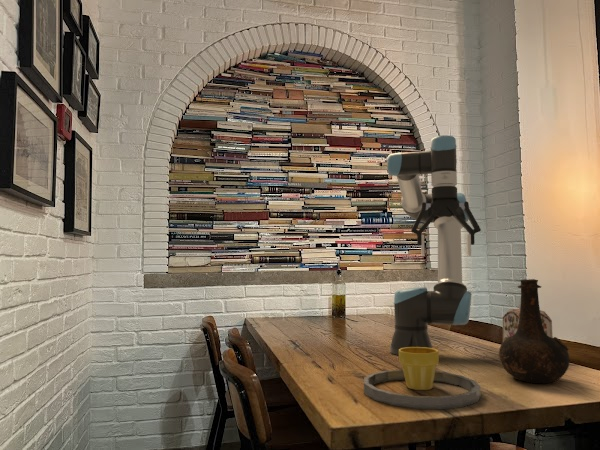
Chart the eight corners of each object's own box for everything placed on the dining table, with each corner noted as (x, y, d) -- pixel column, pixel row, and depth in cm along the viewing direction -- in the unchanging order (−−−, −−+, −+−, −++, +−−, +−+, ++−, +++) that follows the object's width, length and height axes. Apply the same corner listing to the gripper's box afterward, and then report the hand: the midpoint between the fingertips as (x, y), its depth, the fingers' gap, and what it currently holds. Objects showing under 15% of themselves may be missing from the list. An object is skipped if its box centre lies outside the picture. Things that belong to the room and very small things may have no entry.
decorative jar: (554, 359, 165) (552, 305, 167) (522, 361, 164) (520, 306, 165) (532, 353, 177) (530, 302, 178) (502, 354, 175) (500, 303, 176)
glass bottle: (569, 391, 126) (565, 281, 128) (495, 383, 135) (492, 279, 137) (570, 376, 142) (566, 278, 144) (503, 370, 151) (501, 277, 152)
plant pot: (394, 382, 136) (394, 346, 136) (431, 381, 137) (430, 345, 137) (405, 393, 125) (405, 353, 126) (445, 391, 126) (444, 353, 127)
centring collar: (341, 389, 128) (341, 380, 129) (411, 373, 146) (411, 365, 146) (432, 417, 106) (431, 405, 106) (502, 394, 124) (501, 384, 124)
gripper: (403, 186, 150) (404, 256, 149) (489, 183, 146) (491, 255, 145) (402, 189, 157) (403, 256, 156) (484, 187, 153) (486, 255, 152)
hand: (445, 256), depth 150 cm, fingers open, 13 cm apart
